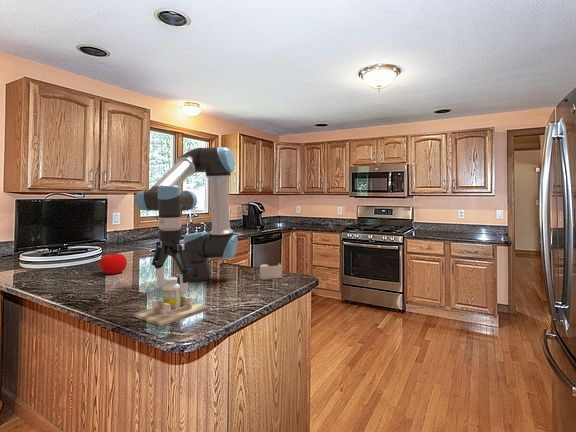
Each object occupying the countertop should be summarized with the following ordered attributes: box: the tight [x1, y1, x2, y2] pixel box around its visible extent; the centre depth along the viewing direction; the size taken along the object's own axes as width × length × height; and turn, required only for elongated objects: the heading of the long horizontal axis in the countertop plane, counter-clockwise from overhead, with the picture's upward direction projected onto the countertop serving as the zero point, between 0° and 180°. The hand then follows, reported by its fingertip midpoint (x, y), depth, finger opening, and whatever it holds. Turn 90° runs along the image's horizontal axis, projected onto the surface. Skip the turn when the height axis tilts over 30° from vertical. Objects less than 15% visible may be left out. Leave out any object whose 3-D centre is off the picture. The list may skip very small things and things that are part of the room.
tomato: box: [99, 252, 128, 275], centre depth 183 cm, size 12×13×11 cm
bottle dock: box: [132, 294, 210, 327], centre depth 121 cm, size 16×20×5 cm
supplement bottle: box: [162, 276, 181, 310], centre depth 121 cm, size 6×6×11 cm
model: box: [259, 262, 283, 281], centre depth 172 cm, size 3×11×8 cm, turn 114°
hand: (172, 288), depth 121 cm, fingers open, 13 cm apart
